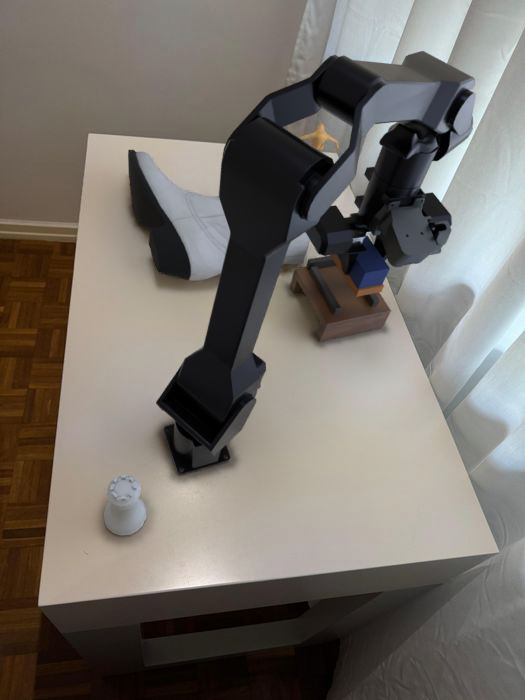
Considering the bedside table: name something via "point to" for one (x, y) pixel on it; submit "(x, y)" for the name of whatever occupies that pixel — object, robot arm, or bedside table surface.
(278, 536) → the bedside table surface
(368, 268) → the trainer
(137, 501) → the rook chess piece
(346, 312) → the brown piece
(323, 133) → the figurine
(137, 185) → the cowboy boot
